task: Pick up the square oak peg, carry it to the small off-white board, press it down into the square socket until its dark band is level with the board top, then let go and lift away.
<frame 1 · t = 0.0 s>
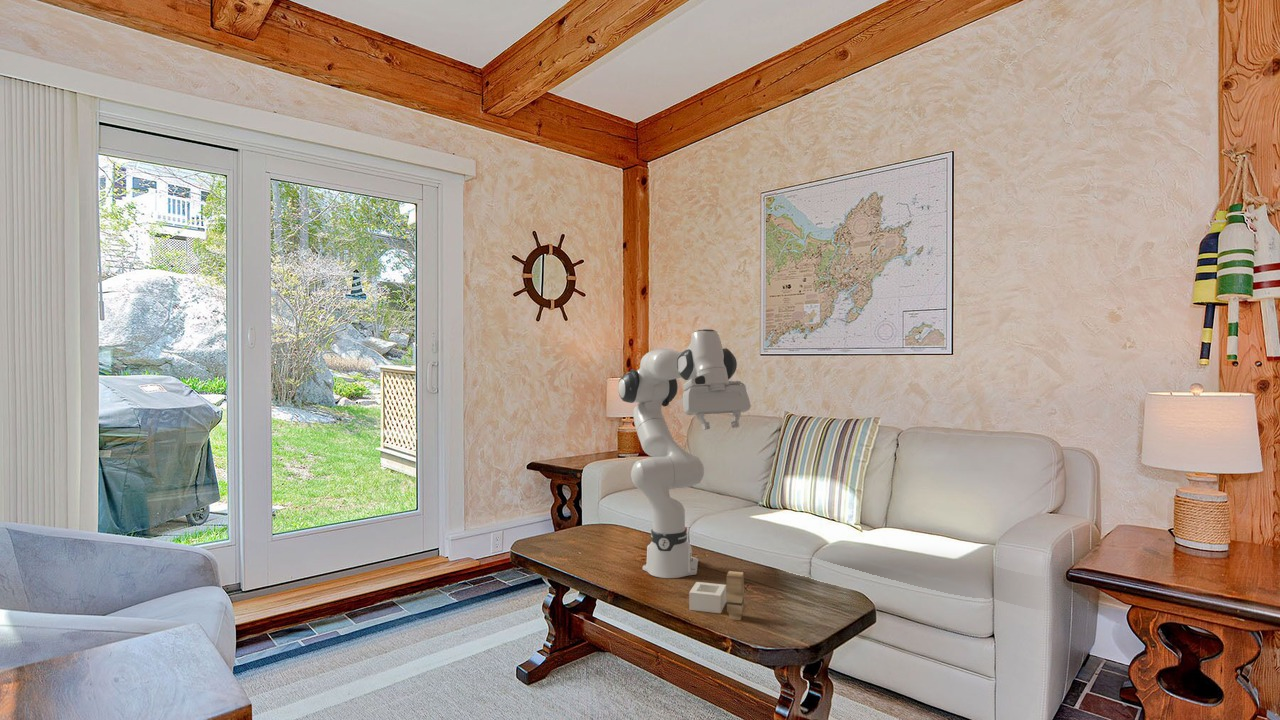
hand: (721, 428, 181), 52 cm above the table, fingers open, 8 cm apart
oak peg: (735, 617, 176), on the table
socket board: (708, 605, 184), on the table
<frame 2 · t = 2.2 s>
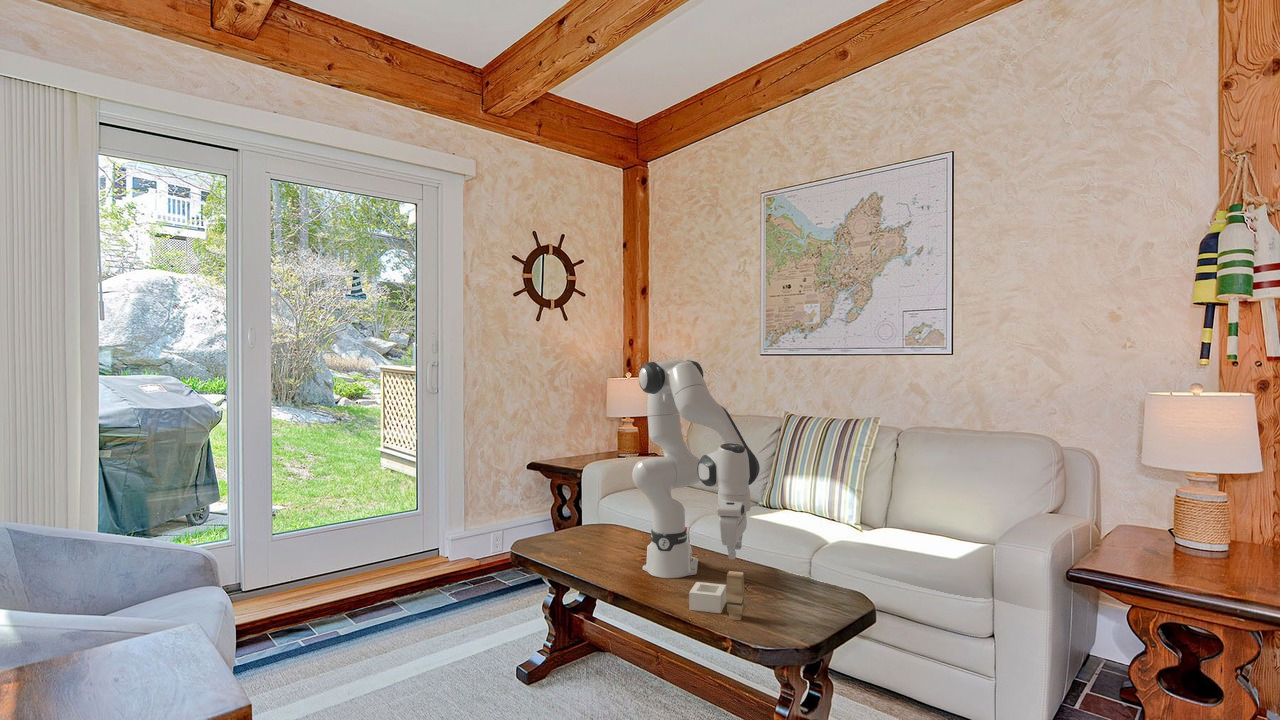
hand: (735, 553, 176), 18 cm above the table, fingers open, 8 cm apart
nothing on the table moved.
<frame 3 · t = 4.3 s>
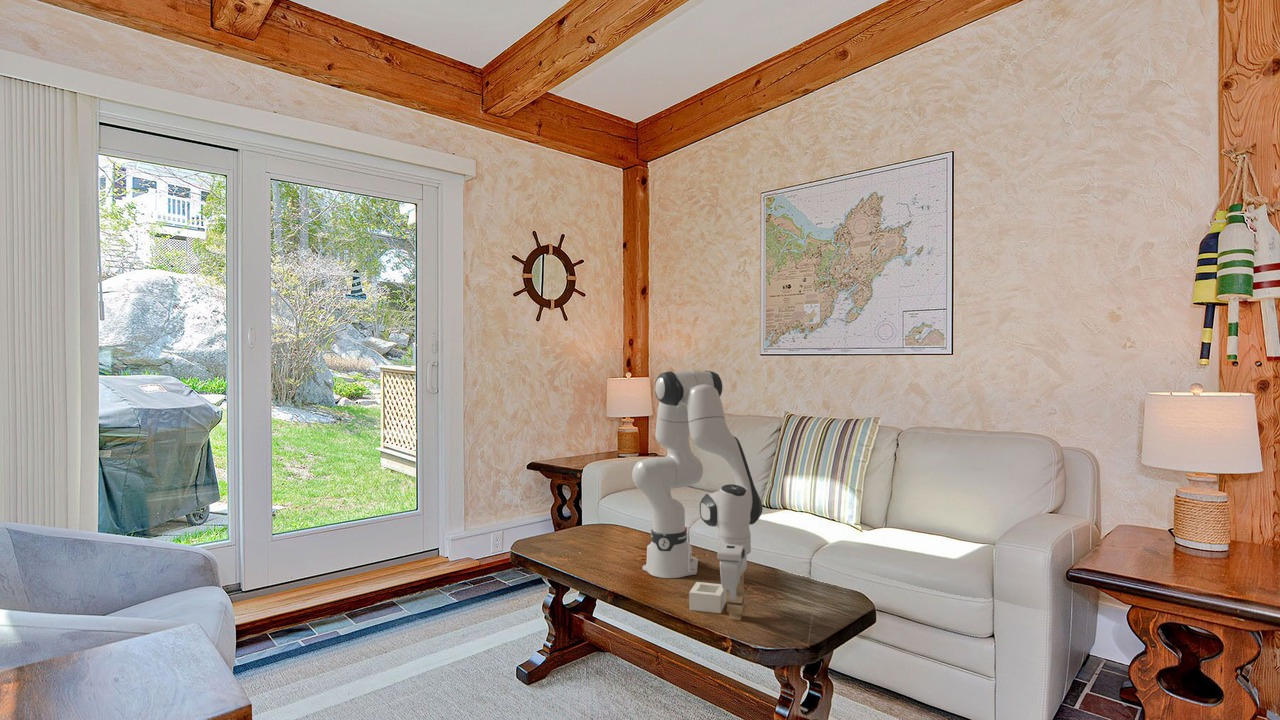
hand: (735, 595, 176), 6 cm above the table, fingers closed on oak peg, 4 cm apart
oak peg: (735, 617, 176), on the table, touching gripper
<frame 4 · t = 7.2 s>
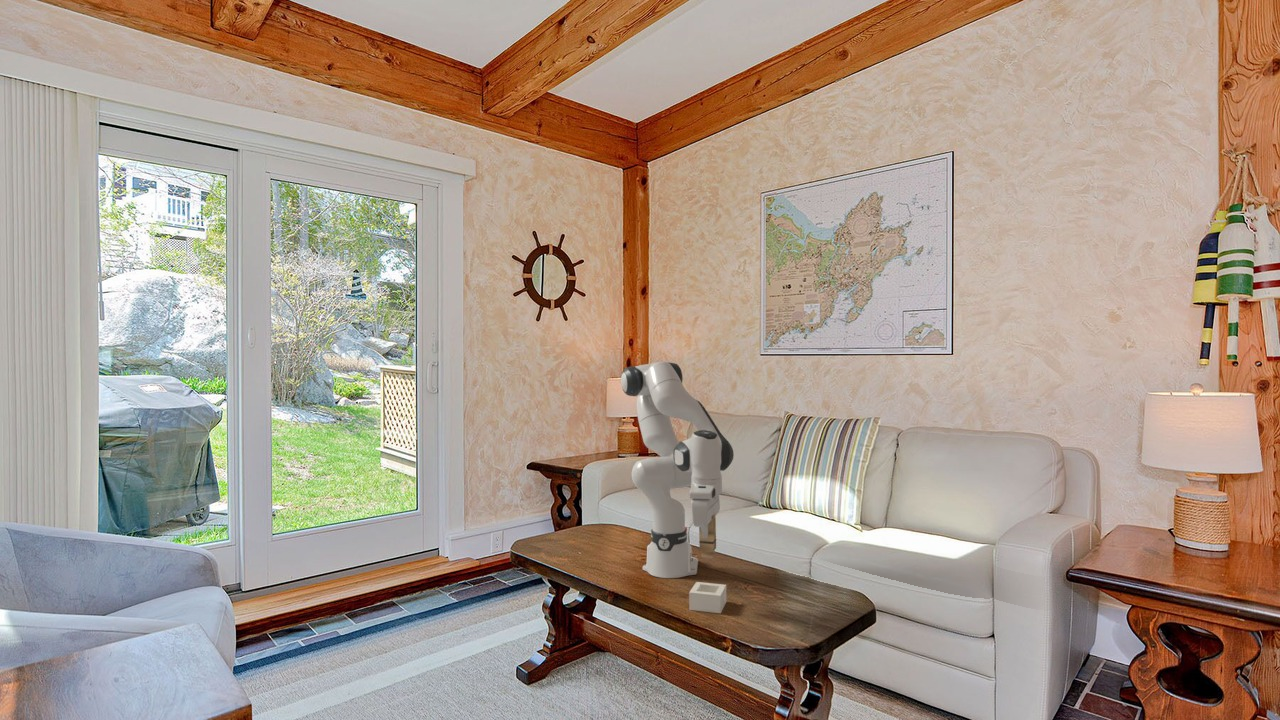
hand: (707, 535, 184), 20 cm above the table, fingers closed on oak peg, 4 cm apart
oak peg: (708, 556, 184), point 14 cm above the table, touching gripper
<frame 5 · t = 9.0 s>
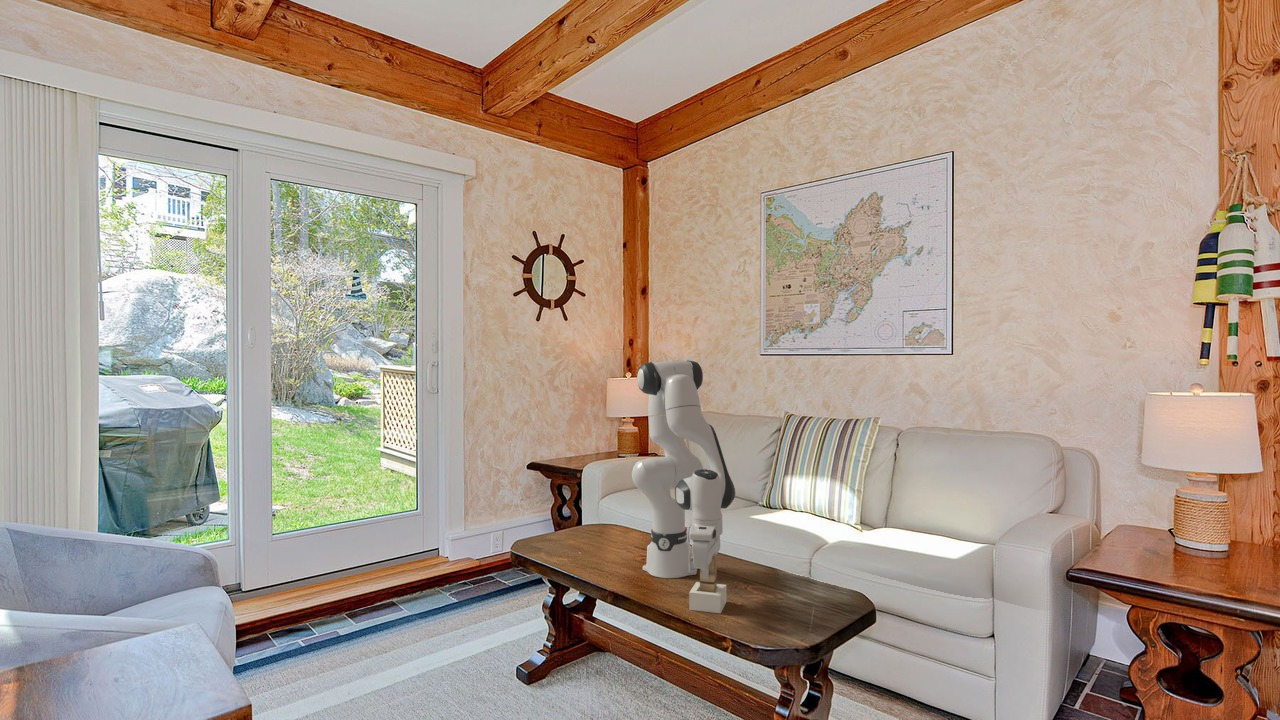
hand: (708, 575, 184), 9 cm above the table, fingers closed on oak peg, 4 cm apart
oak peg: (708, 596, 184), point 3 cm above the table, touching gripper
when the fingers open (7 cm above the table, at t = 10.4 s): oak peg stays where it is, resting on socket board.
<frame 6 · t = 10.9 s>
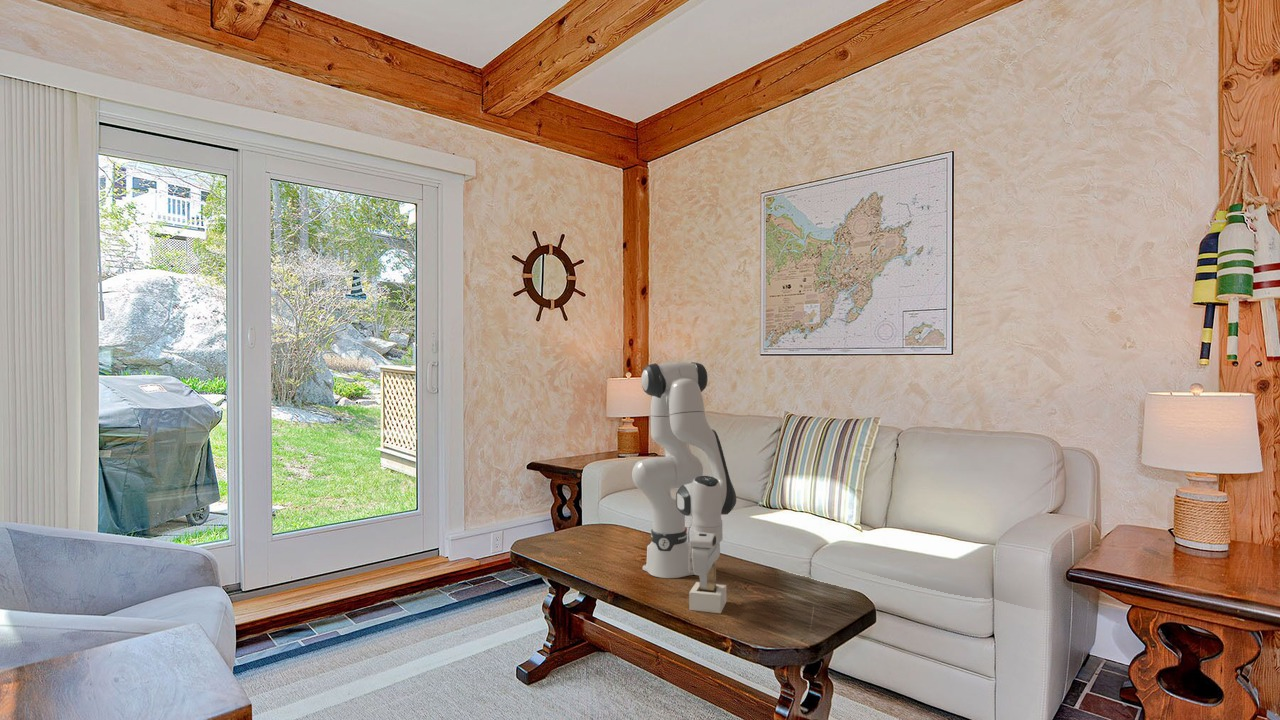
hand: (707, 581, 185), 7 cm above the table, fingers open, 8 cm apart
oak peg: (708, 603, 185), resting on socket board
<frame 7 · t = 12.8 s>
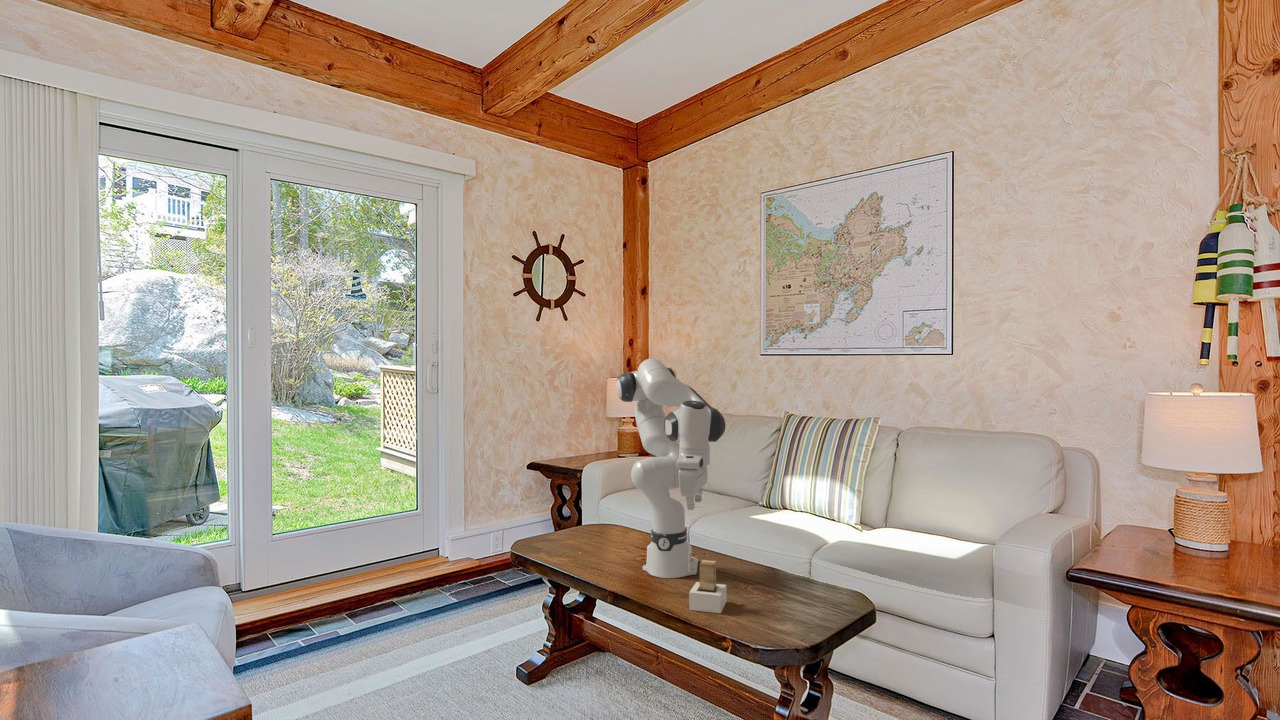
hand: (694, 505, 184), 29 cm above the table, fingers open, 8 cm apart
nothing on the table moved.
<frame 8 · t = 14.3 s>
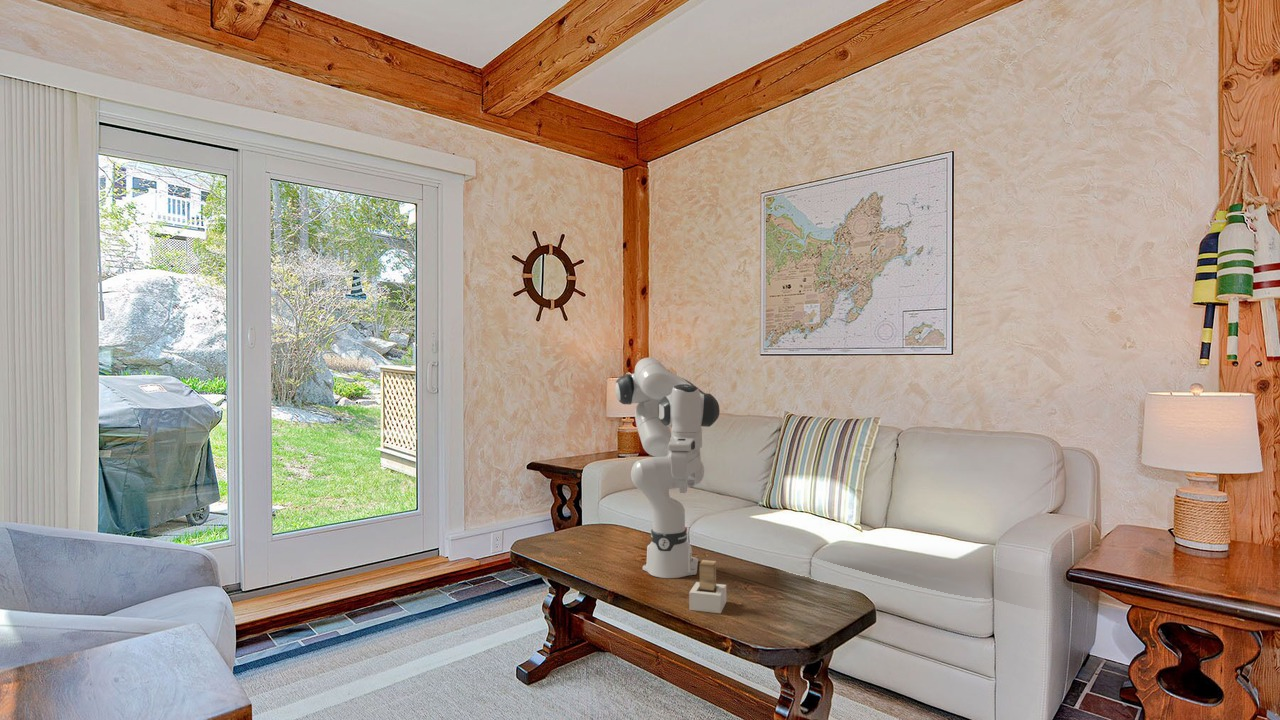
hand: (687, 489, 183), 34 cm above the table, fingers open, 8 cm apart
nothing on the table moved.
at the end: oak peg 0.1 cm off-centre on the socket board, point 0.5 cm above the socket board's base; oak peg tilted 0°; the gripper is holding nothing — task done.
